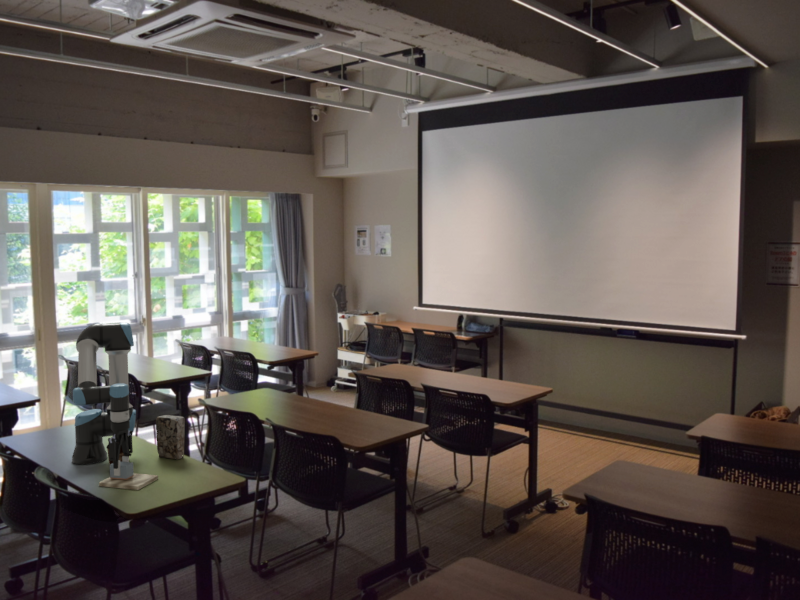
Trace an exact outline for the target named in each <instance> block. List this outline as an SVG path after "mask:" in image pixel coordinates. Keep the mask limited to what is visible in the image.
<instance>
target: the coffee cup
mask: <svg viewBox="0 0 800 600" xmlns="http://www.w3.org/2000/svg"><path fill="white" fill-rule="evenodd" d="M116 443H119V442H116ZM105 449H106V451H107V460H108V464H109V465H108V467H109V468H110V464H112V463H113V461H110V460H109V442H108V443H107V445H106V448H105ZM122 456H124V455H123V450H122V445H121V447H120V455H119V460H120V462H122Z"/></svg>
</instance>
